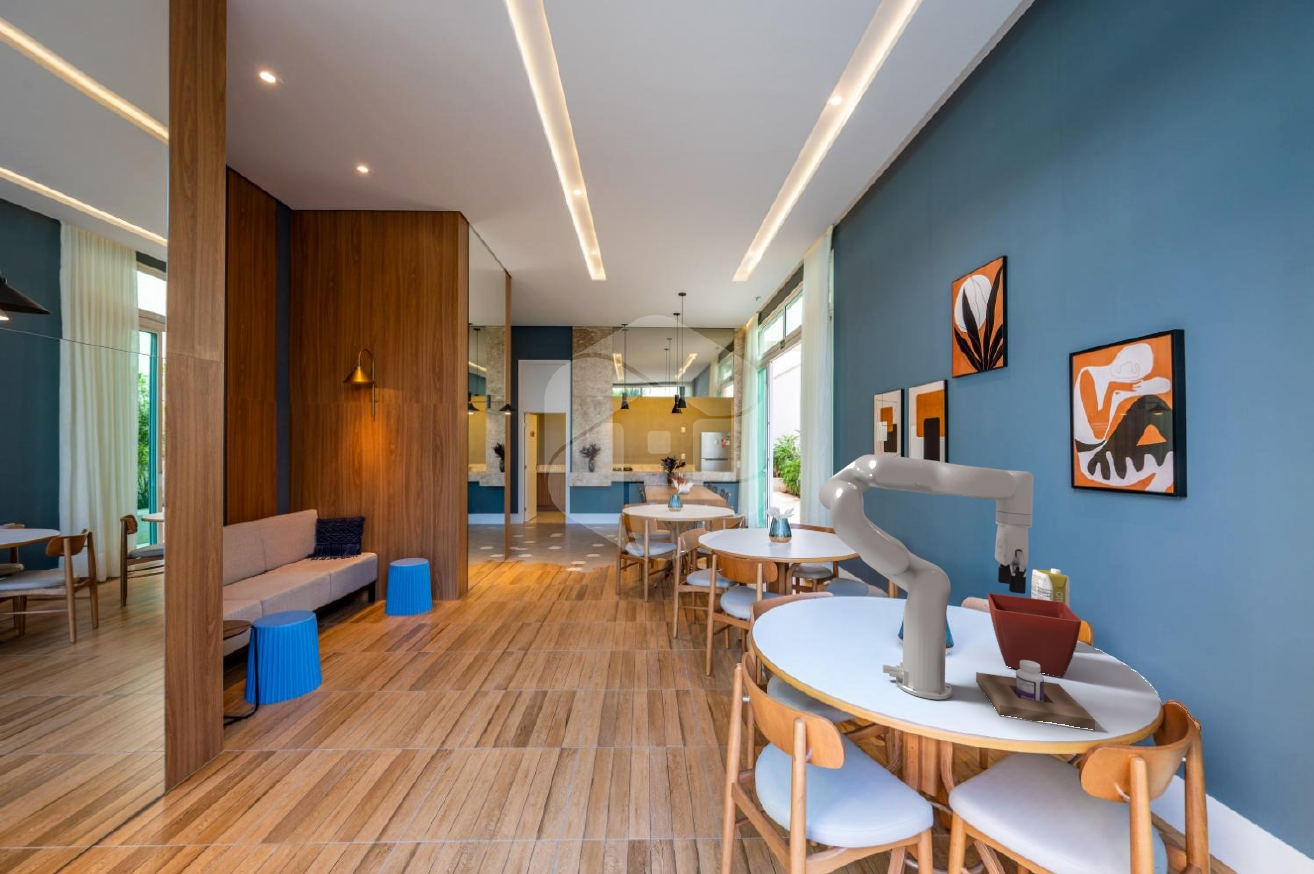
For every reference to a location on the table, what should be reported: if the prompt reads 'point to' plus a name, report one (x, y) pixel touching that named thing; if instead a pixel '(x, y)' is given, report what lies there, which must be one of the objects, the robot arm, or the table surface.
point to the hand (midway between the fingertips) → (1011, 587)
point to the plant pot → (1034, 632)
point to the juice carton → (1050, 586)
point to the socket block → (1034, 702)
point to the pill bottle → (1029, 681)
